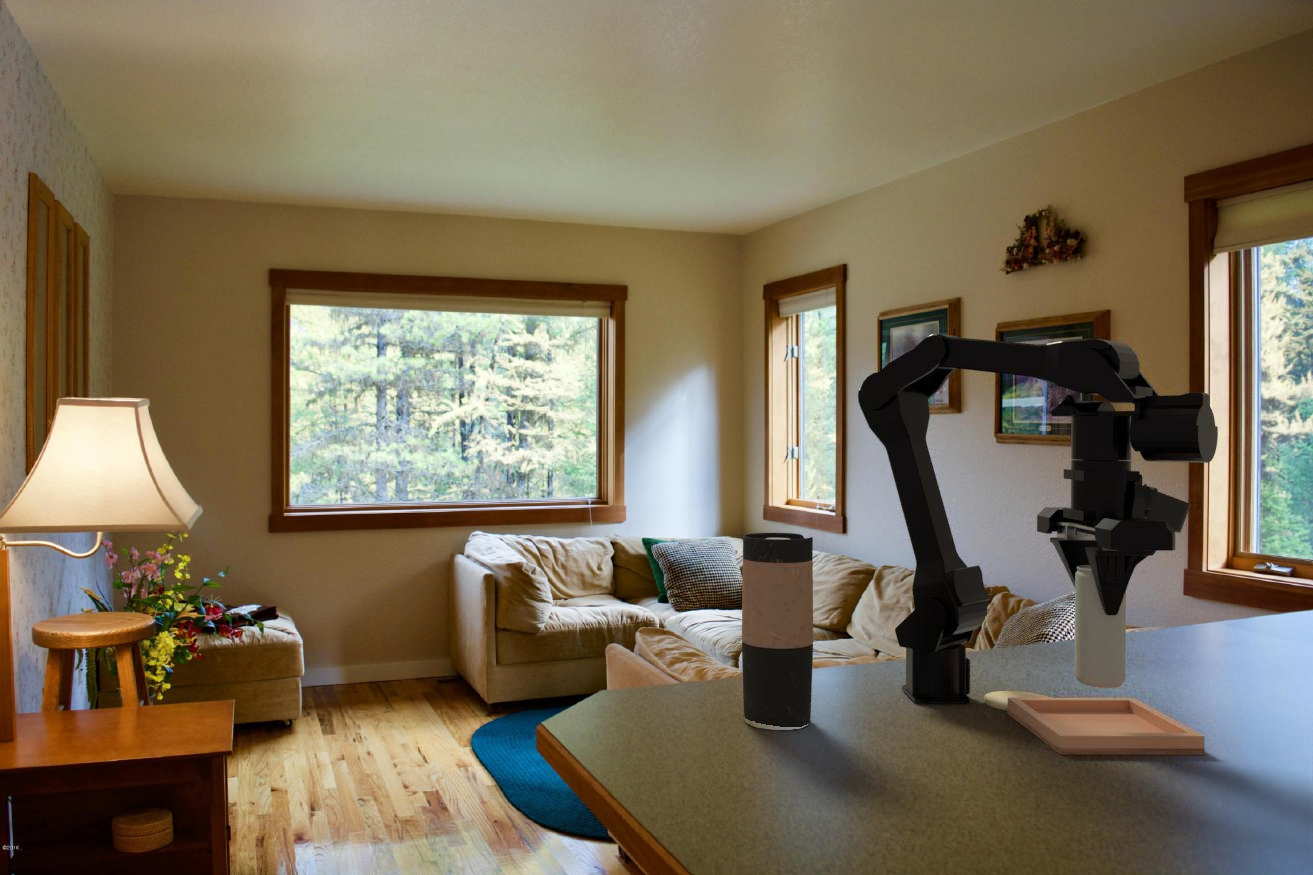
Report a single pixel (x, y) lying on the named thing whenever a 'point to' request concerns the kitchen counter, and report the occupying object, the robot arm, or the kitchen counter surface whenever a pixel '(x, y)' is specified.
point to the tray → (1104, 727)
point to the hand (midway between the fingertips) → (1099, 610)
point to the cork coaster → (1001, 698)
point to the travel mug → (777, 628)
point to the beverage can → (1097, 636)
